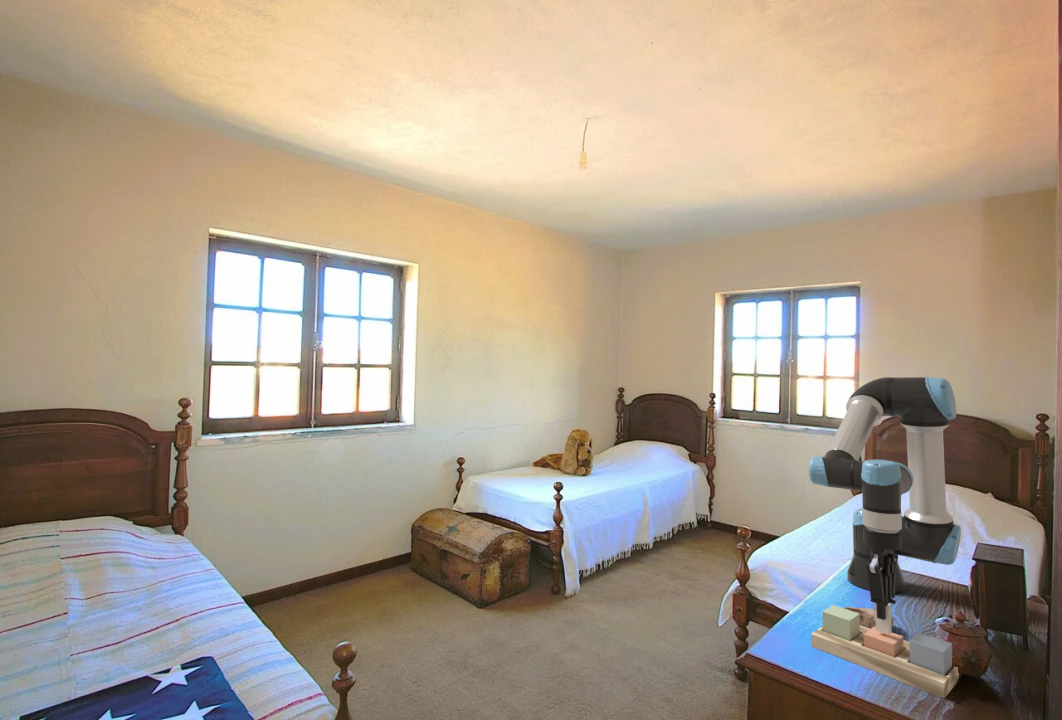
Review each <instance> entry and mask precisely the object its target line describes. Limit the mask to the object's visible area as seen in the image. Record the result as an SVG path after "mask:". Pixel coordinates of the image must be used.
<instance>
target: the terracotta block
mask: <svg viewBox="0 0 1062 720" xmlns="http://www.w3.org/2000/svg"><path fill="white" fill-rule="evenodd" d="M903 640H904V636H903V635H900V634H898V633H894V632H892V633H891V634H890V635H888V634H885V633H882V632H879V631H876V627H872V628H871V629H870V630H869V631H867V632H866V633H865V634H864V647H867V648H870V649H873V650H875V651H878V652H881V653H884V654H886V655H889V656H892V657H895V658H896V657H897V656H898V655H899V654H901V653H902V652H903V651H904V648H903Z"/></svg>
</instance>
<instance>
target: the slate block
mask: <svg viewBox="0 0 1062 720" xmlns="http://www.w3.org/2000/svg"><path fill="white" fill-rule="evenodd" d="M909 642H910V663H911V664H914V665H917V666H919V667H922V668H925V669H928V670H930V671H933V672H936V673H939V674H941V675H944V676H947V675H946V674H947V673H948V671H949V670H950V669H951V668H952V657H953V643H952V642H949V641H946V640H942V639H940V638H936V637H934V636H930V635H927V634H925V633H922V632H918V633H917V634H916V635H914V636H913V637H912V638H911V639H910V640H909Z"/></svg>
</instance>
